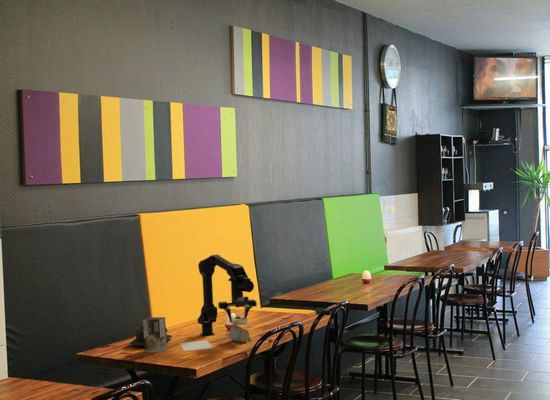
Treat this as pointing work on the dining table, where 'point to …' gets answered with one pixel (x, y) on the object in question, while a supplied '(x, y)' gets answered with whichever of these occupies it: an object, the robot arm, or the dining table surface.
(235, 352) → the dining table surface
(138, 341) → the casserole
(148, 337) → the coffee box
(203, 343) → the mat
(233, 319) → the lid
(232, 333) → the ceramic mug
